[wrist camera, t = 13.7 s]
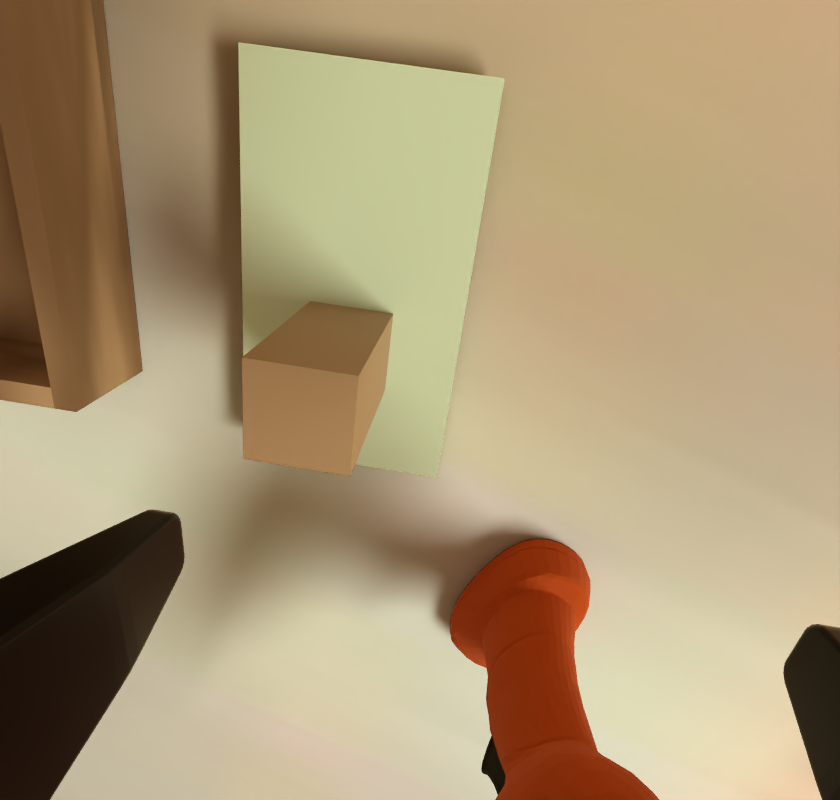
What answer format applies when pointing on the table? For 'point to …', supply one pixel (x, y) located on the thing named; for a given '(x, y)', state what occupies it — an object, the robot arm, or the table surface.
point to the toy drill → (536, 677)
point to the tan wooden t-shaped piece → (61, 210)
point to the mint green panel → (356, 253)
